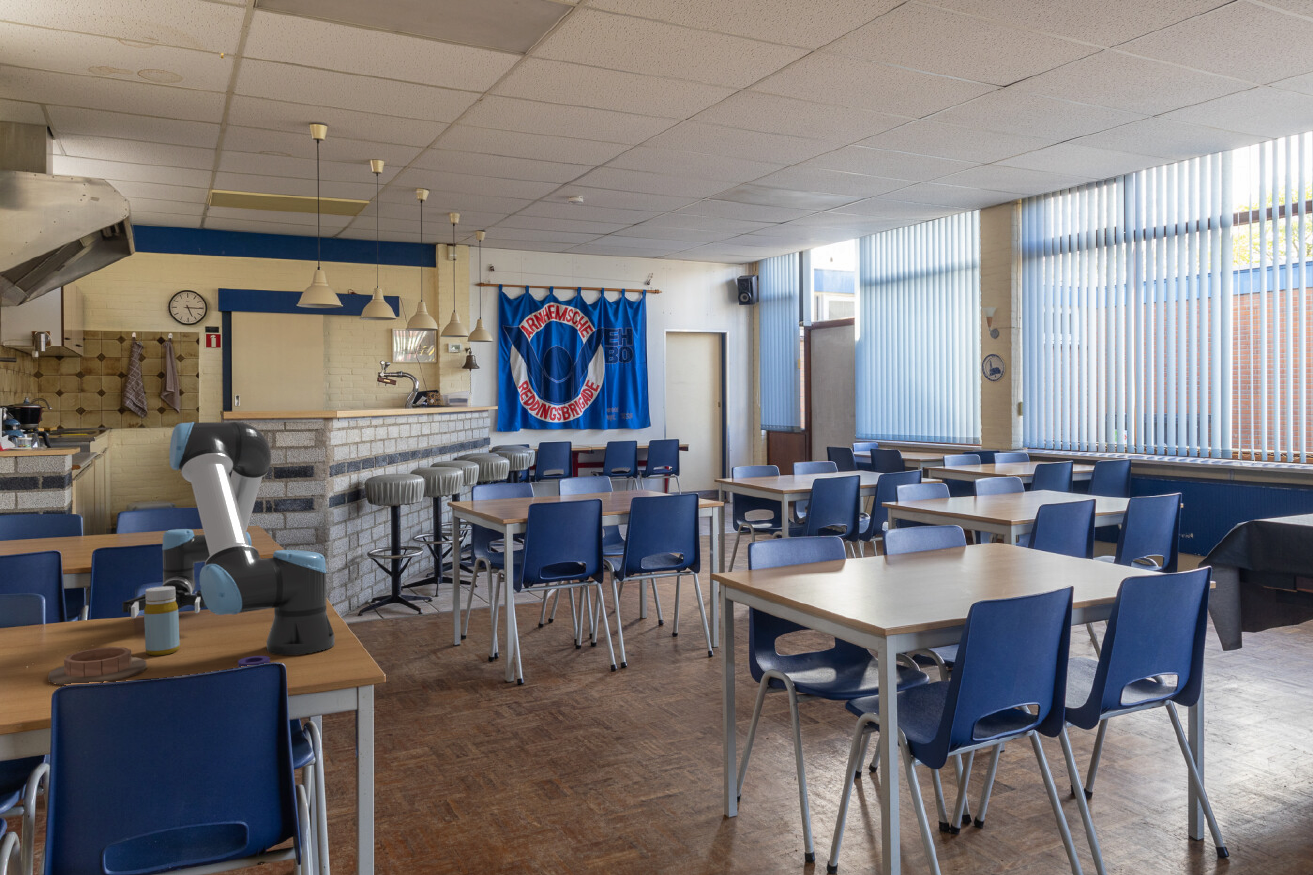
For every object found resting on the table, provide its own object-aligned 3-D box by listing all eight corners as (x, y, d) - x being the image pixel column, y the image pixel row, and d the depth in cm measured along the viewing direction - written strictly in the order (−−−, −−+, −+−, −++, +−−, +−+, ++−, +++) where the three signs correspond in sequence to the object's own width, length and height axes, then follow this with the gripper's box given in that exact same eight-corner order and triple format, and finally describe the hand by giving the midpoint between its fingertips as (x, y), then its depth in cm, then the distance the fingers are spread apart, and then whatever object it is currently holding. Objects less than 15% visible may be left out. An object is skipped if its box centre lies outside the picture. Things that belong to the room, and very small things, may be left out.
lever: (254, 668, 197) (253, 654, 197) (276, 671, 195) (276, 657, 195) (210, 684, 185) (209, 669, 185) (233, 687, 183) (233, 672, 183)
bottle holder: (161, 670, 195) (160, 652, 194) (68, 691, 180) (67, 671, 180) (125, 656, 205) (124, 639, 205) (34, 675, 191) (34, 656, 191)
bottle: (158, 647, 213) (156, 585, 212) (186, 648, 212) (183, 585, 212) (138, 656, 206) (136, 591, 206) (167, 656, 205) (164, 591, 205)
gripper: (227, 603, 240) (222, 620, 221) (120, 611, 231) (105, 630, 211) (226, 576, 240) (221, 590, 221) (120, 583, 230) (105, 599, 211)
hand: (165, 610), depth 216 cm, fingers open, 13 cm apart
